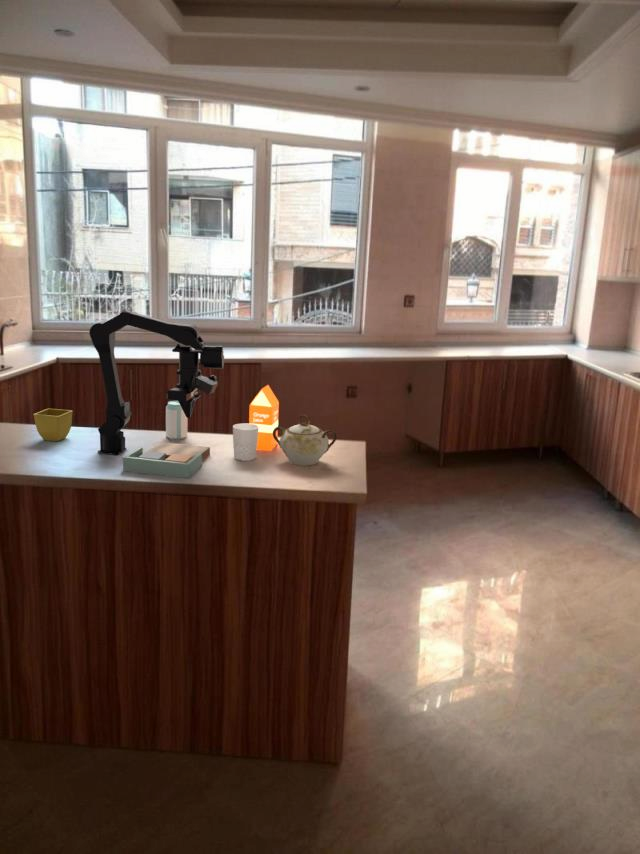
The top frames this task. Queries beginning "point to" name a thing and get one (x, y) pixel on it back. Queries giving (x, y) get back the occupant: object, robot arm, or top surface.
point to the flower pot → (53, 423)
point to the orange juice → (265, 418)
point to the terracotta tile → (179, 458)
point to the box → (160, 465)
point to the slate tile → (153, 455)
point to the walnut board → (181, 449)
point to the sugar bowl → (304, 442)
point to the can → (175, 421)
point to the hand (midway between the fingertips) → (188, 417)
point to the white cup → (245, 441)
